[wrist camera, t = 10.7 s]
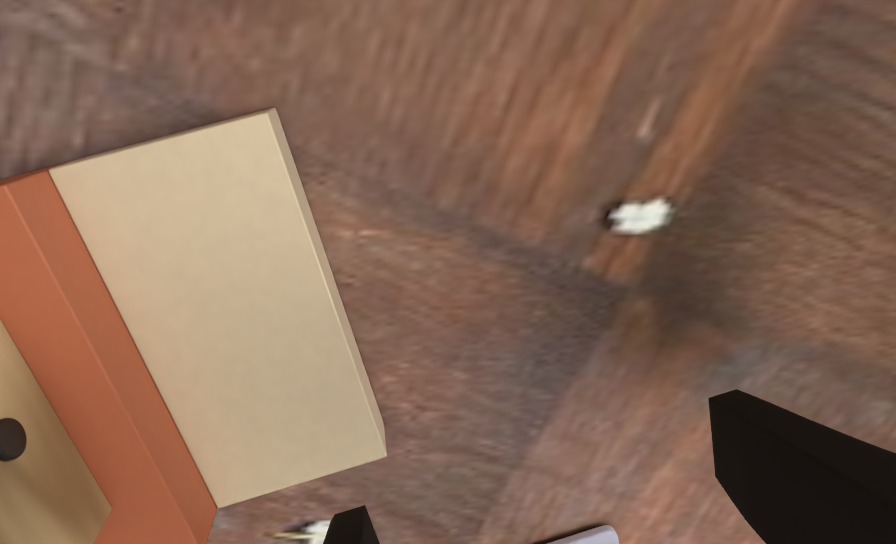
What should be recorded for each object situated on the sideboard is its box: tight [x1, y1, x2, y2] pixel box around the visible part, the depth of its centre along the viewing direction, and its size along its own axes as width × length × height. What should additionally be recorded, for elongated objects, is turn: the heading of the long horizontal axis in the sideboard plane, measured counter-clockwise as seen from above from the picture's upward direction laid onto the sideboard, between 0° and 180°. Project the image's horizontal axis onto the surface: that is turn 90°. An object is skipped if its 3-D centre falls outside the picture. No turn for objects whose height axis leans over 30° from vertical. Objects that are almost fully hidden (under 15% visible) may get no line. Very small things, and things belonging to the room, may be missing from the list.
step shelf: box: [0, 108, 387, 544], centre depth 16 cm, size 12×18×6 cm, turn 104°
